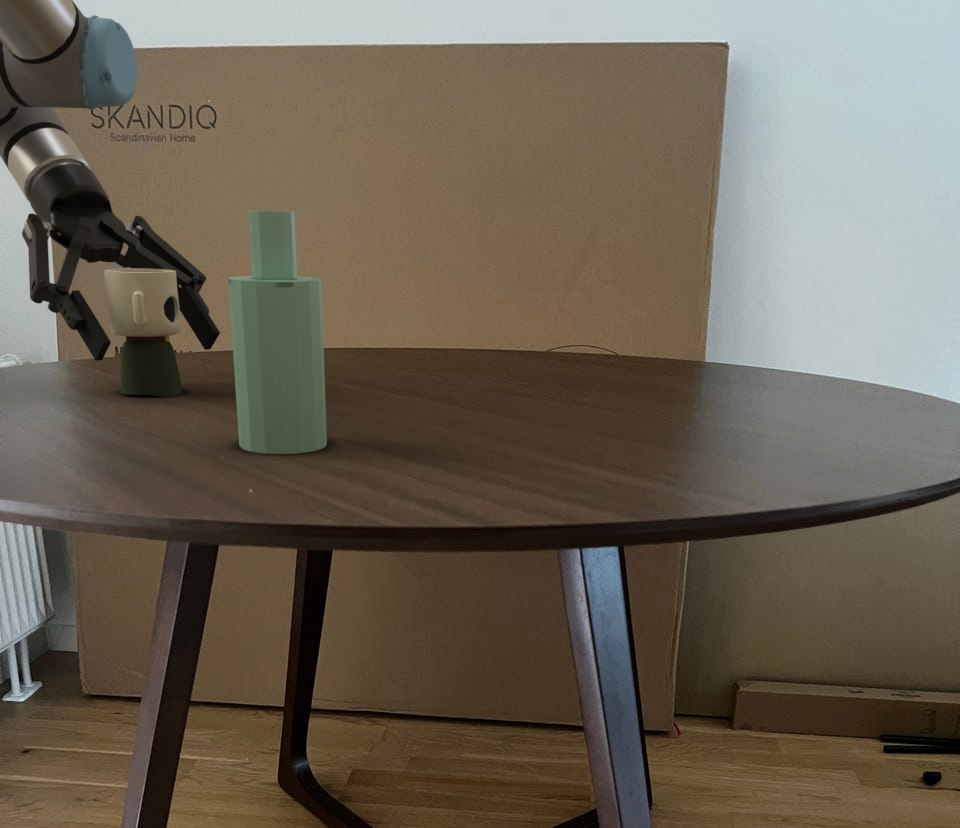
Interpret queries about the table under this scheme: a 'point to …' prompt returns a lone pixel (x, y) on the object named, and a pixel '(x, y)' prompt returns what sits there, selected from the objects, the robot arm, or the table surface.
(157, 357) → the character mug
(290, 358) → the bottle
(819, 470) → the table surface
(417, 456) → the table surface
